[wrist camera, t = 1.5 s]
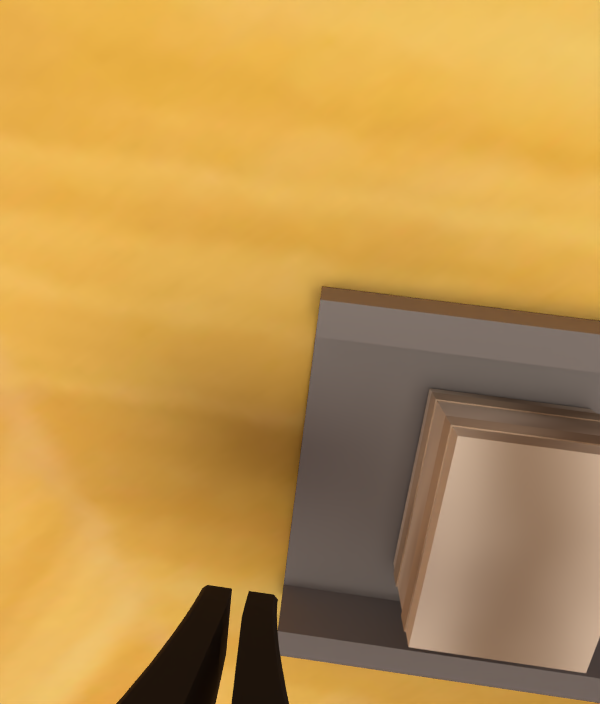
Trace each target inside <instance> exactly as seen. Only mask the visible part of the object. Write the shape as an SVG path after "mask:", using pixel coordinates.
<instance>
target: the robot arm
mask: <svg viewBox="0 0 600 704" xmlns="http://www.w3.org/2000/svg"><path fill="white" fill-rule="evenodd" d="M231 593H232V589H231V588H224V587H217V586H210V585H207V586H205V587H204V588H202V590H201V592H200V594H199V595H198V597H197V599H196V600H195V602H194V604H193V605H192V607H191V608H190V610H189V611H188V613H187V614H186V616H185V617H184V619H183V620H182V622H181V623H180V625H179V626H178V627H177V629H176V630H175V632H174V633H173V634H172V636H171V637H170V638H169V640H168V641H167V642H166V644H165V645H164V646H163V648H162V649H161V650H160V652H159V653H158V654H157V656H156V657H155V658H154V659H153V661H152V662H151V663H150V665H149V666H148V667H147V668H146V669H145V671H144V672H143V673H142V674H141V675H140V677H139V678H138V679H137V680H136V681H135V682H134V684H133V685H132V686H131V687H130V688H129V690H128V691H127V692H126V693H125V694H124V696H123V697H122V698H121V699H120V700H119V701H118V702H117V703H116V704H215V703H216V698H217V694H218V689H219V685H220V680H221V675H222V670H223V666H224V661H225V656H226V649H227V638H228V626H229V615H230V604H231ZM277 601H278V599H277V598H276V597H275V596H274V595H272V594H265V593H258V592H252V591H249V593H248V596H247V600H246V603H245V607H244V611H243V615H242V621H241V629H240V638H239V646H238V655H237V663H236V671H235V680H234V688H233V696H232V704H289V702H288V697H287V692H286V687H285V681H284V675H283V669H282V664H281V657H280V650H279V641H278V630H277Z"/></svg>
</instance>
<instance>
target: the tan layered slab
mask: <svg viewBox="0 0 600 704" xmlns="http://www.w3.org/2000/svg"><path fill="white" fill-rule="evenodd" d="M393 565H394V579H395V584H396V587H398V592H399V598H400V603H401V608H402V613H401V618H402V624H403V629H404V632H406V636H407V641H408V647H411V648H418V649H424V650H431V651H438V652H445V653H452V654H458V655H465V656H472V657H479V658H486V659H493V660H499V661H506V662H513V663H520V664H527V665H533V666H540V667H547V668H554V669H561V670H567V671H574V672H581V673H586V672H587V669H588V667H589V664H590V661H591V659H592V656H593V653H594V651H595V648H596V646H597V643H598V640H599V638H600V414H597V413H595V412H594V411H593V410H591V409H586V408H579V407H571V406H563V405H555V404H548V403H540V402H532V401H525V400H517V399H509V398H501V397H494V396H486V395H478V394H471V393H463V392H455V391H448V390H440V389H432V388H430V389H429V393H428V398H427V403H426V408H425V413H424V418H423V422H422V427H421V432H420V437H419V442H418V446H417V451H416V456H415V461H414V466H413V471H412V475H411V480H410V485H409V490H408V495H407V499H406V504H405V509H404V514H403V519H402V524H401V528H400V533H399V538H398V543H397V548H396V553H395V557H394V562H393Z"/></svg>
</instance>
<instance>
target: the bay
mask: <svg viewBox="0 0 600 704" xmlns="http://www.w3.org/2000/svg"><path fill="white" fill-rule="evenodd" d="M430 388H432V389H440V390H448V391H455V392H463V393H471V394H478V395H486V396H494V397H501V398H509V399H517V400H525V401H532V402H540V403H548V404H555V405H563V406H571V407H579V408H586V409H591V410H593V411H594V412H595V413H597V414H600V321H596V320H588V319H580V318H572V317H564V316H556V315H548V314H540V313H532V312H524V311H516V310H508V309H500V308H492V307H484V306H475V305H467V304H459V303H451V302H443V301H435V300H427V299H419V298H411V297H403V296H395V295H387V294H379V293H371V292H363V291H355V290H346V289H338V288H330V287H322V291H321V298H320V306H319V314H318V322H317V329H316V338H315V345H314V353H313V361H312V369H311V377H310V384H309V392H308V400H307V408H306V416H305V423H304V431H303V439H302V447H301V455H300V462H299V470H298V478H297V486H296V493H295V501H294V509H293V517H292V525H291V532H290V540H289V548H288V556H287V564H286V571H285V579H284V587H283V595H282V602H281V610H280V618H279V626H278V641H279V650H280V655H281V656H287V657H294V658H301V659H308V660H314V661H321V662H328V663H334V664H341V665H348V666H355V667H361V668H368V669H375V670H381V671H388V672H395V673H402V674H408V675H415V676H422V677H428V678H435V679H442V680H449V681H455V682H462V683H469V684H476V685H482V686H489V687H496V688H502V689H509V690H516V691H523V692H529V693H536V694H543V695H549V696H556V697H563V698H570V699H576V700H583V701H590V702H597V703H600V638H599V640H598V643H597V646H596V648H595V651H594V653H593V656H592V659H591V661H590V664H589V667H588V669H587V672H586V673H581V672H574V671H567V670H561V669H554V668H547V667H540V666H533V665H527V664H520V663H513V662H506V661H499V660H493V659H486V658H479V657H472V656H465V655H458V654H452V653H445V652H438V651H431V650H424V649H418V648H411V647H408V641H407V636H406V632H404V629H403V624H402V618H401V613H402V608H401V603H400V598H399V592H398V587H396V584H395V579H394V565H393V562H394V557H395V553H396V548H397V543H398V538H399V533H400V528H401V524H402V519H403V514H404V509H405V504H406V499H407V495H408V490H409V485H410V480H411V475H412V471H413V466H414V461H415V456H416V451H417V446H418V442H419V437H420V432H421V427H422V422H423V418H424V413H425V408H426V403H427V398H428V393H429V389H430Z"/></svg>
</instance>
